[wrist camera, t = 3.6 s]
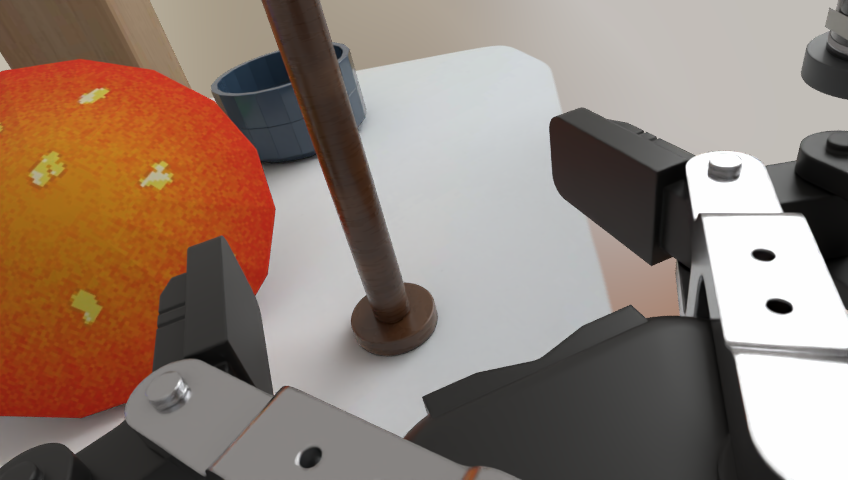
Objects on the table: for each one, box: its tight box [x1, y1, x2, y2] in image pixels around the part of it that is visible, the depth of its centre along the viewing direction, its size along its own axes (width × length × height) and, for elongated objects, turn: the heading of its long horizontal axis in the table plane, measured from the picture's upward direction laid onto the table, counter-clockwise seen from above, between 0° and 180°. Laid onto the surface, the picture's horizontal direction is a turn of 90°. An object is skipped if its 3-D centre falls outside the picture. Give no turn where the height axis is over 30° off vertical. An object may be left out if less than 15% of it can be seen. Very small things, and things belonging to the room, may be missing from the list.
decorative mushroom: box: [0, 59, 276, 418], centre depth 29 cm, size 15×21×15 cm
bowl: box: [211, 42, 366, 162], centre depth 52 cm, size 13×13×7 cm
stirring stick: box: [262, 0, 438, 356], centre depth 24 cm, size 5×5×18 cm
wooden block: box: [0, 0, 191, 89], centre depth 49 cm, size 10×10×20 cm
